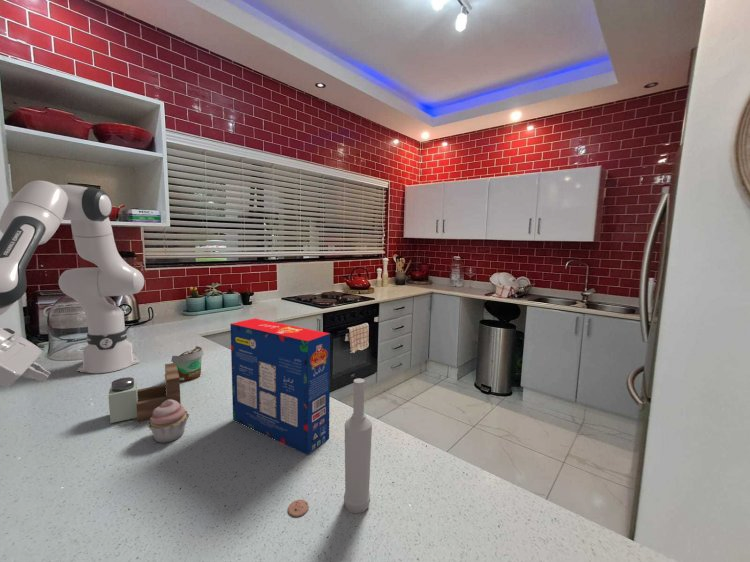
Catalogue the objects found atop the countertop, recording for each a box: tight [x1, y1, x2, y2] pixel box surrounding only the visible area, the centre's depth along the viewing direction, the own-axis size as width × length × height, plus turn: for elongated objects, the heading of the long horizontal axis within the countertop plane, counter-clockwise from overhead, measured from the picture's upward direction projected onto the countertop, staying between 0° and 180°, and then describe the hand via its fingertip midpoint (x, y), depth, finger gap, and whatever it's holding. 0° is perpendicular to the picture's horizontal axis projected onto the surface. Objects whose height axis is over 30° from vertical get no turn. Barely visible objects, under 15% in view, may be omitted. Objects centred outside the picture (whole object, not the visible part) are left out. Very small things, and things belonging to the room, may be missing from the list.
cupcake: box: [146, 399, 190, 444], centre depth 84 cm, size 9×9×10 cm
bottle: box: [343, 377, 373, 514], centre depth 63 cm, size 5×5×25 cm
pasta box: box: [230, 317, 331, 456], centre depth 88 cm, size 28×8×28 cm, turn 59°
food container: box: [171, 345, 205, 383], centre depth 121 cm, size 12×6×10 cm, turn 168°
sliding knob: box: [107, 376, 138, 424], centre depth 94 cm, size 7×6×10 cm
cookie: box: [287, 499, 310, 518], centre depth 63 cm, size 4×4×1 cm
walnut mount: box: [133, 362, 182, 423], centre depth 98 cm, size 14×11×11 cm
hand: (47, 377), depth 84 cm, fingers closed
